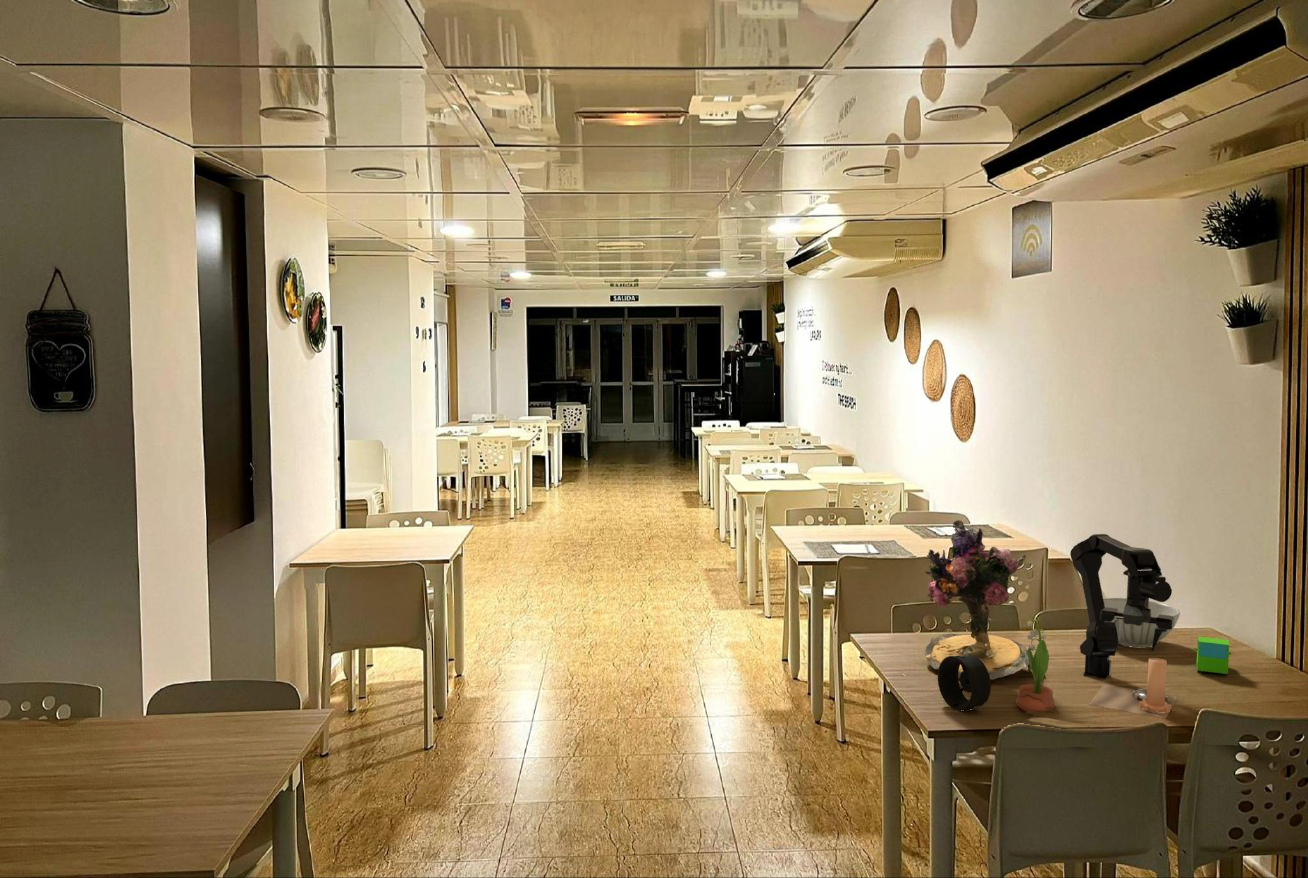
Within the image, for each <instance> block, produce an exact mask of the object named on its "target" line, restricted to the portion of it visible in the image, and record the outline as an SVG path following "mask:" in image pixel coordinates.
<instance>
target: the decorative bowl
mask: <svg viewBox="0 0 1308 878" xmlns="http://www.w3.org/2000/svg"><path fill="white" fill-rule="evenodd" d="M1103 600H1104V605H1105V607H1108V608H1116V609H1118V612H1121V613H1123V612H1124V607H1125V605H1126V603H1127V597H1126V598H1125V597H1107V598H1103ZM1149 609H1151V617H1158V616H1159V614H1161V615H1169V616H1173V617H1174V619H1175V622H1174V627H1173V628H1172V630H1174V628H1175V626H1176V625H1177V623H1178V621H1179V618H1180V616H1181V612H1180V610H1179V609H1177V608H1176V607H1175V606H1172V605H1169V604H1166V603H1164V602H1159V601H1154V600H1149ZM1156 627H1157V625H1156V624H1152V623H1145V622H1143V623H1142V625H1141V626H1136V625H1133V624H1125V623H1124V622H1123V619H1119V639H1120V640H1119V644H1121V645H1124V646H1123V647H1126V646H1132V647H1150V646H1152V644H1153V639H1154V634H1155V628H1156ZM1172 630H1167V632H1162V634H1161V636H1160V638H1159V640H1158V642H1160V641H1161V640H1163V639H1164V638H1166V637H1168V635H1169V634H1170V633H1171V632H1172ZM1121 645H1120V646H1121ZM1132 647H1131V648H1132ZM1150 648H1151V647H1150Z"/></svg>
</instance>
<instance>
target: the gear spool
mask: <svg viewBox="0 0 1308 878" xmlns="http://www.w3.org/2000/svg"><path fill="white" fill-rule="evenodd" d="M1167 664H1168V661H1167V660H1166V659H1163V658H1160V657H1159V658H1158V657H1150V658H1148V664H1147V667H1148V668H1147V669H1148V670H1147V684H1146V685H1147V686H1146V690H1147V699H1146V700H1145V699H1143V700H1142V702H1140V704H1139V706H1140V707H1143V708H1144V710H1149V711H1154V712H1156V713H1159V712H1166V713H1167V712H1169V710H1170V711H1171V710H1172V708H1171V705H1169V704H1167V703H1166V702H1165V695H1166V687H1167V686H1166V685H1167V667H1168V665H1167ZM1169 713H1170V712H1169Z"/></svg>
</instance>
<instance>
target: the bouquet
mask: <svg viewBox="0 0 1308 878" xmlns="http://www.w3.org/2000/svg"><path fill="white" fill-rule="evenodd" d="M952 527H953V529H954V530H953V531H954V532H955V533H952V537H951V538H950V541H951V543H952V547H951V553H952V558H946V550H944V549H943V550H942V555H940V552H939V551H937V552H936V553H935V551H934V550H933V549H929V550H928V551H929V552H928V554H927V555H926V558H927V559H928V561H929V562H931V563H932V564H934V566H931V565H929V567H928V568H929V570H928V571H926V570H925V571H924V573H925V574H927V575H928V576H930V577H931V578H932V579H933V580H934V581H931V582H928V583H927V584H928V585H927V586H928V592H927V597H928V598H931V599H932V600H933V601H934V602H935V603H936V604H937V606H938V607H941V608H944V607H947V606H948V605H951V604H952V603H953V601H952V600H951V599H952V598H955V597H956V599H957V600H958V601H960V602H961V603H963V604H964V605H965V606H966V608H967V609H968V613H969V615H970V616H969V617H970V624H969V625H970V630H971V631H970V632H971V633H970V634H965V635H963V634H958V633H946V634H945V633H944V634H939V635H937V636H935V637H932V638H931V639H930V640H929V641H930V642H929V643H928V644H927V645H926V646H925V650H924V651H925V652H924V655H925V659H926V661H927V664H928V665H929V666H931V667H932V668H933V669H934V670H938V669H939V666H940V664H941V662H942V661H943V659H945V658H946V657H948V656H965V655H973V656H976V657H977V658H979V659H980V660H981V661H982V662H983V663H984V665H985V666H986V668H987V670H988V673H989V676H990V681H991V680H996V679H998V678H1004V677H1005V676H1009V675H1013V674H1015V673H1017V672H1019V671H1021V670H1022V669H1023V668H1026V667H1027V671H1028V672H1030V671H1031V668H1030V665H1029V660H1028V649H1027V648H1026V646H1025V645H1024V644H1021V643H1020V642H1017V641H1015V640H1013V639H1010V638H1005V637H1002V636H999V635H998V636H997V635H991V634H989V633H988V630H989V629H988V628H989V619H990V617H989V616H990V609H989V606H991V607H999V606H1002V605H1004V604H1006V603H1007V602H1008V600H1009V598H1010V595H1009V592H1008V587H1009V577H1010V576H1012V575H1013V574H1015V573H1016V572H1017V571H1018V569H1019V567H1022V565H1024V563H1025V561H1026V558H1027V557H1026V555H1025V554H1022V556H1021V557H1020V558H1019V559H1018V558H1013V559H1012V558H1011V557H1012V556H1011V555H1012V554H1013V551H1011V549H1009V548H1007V549H1006V548H1005V547H1003V548H999V549H998V548H997V547H996V546H991V548H990V549H989V551H988V552H986V551H984V550H985V549H986V545H984V543H983V535H984V533H983V532H984V531H983V530H982V528H978V531H977V532H975V531H974V528H973V527H971V528H968V529H966V526H965V524H964V521H962V520H959V519H956V520H954V521H953V523H952ZM940 556H941V557H940ZM962 671H963V669H962V666H961V664H960V667H959V672H958V677H959V679H960V675H961V673H962Z"/></svg>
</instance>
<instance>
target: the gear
mask: <svg viewBox="0 0 1308 878" xmlns="http://www.w3.org/2000/svg"><path fill="white" fill-rule="evenodd" d="M1136 690H1137V691H1133V692H1132V696H1135V699H1136V700H1141V701H1142V700H1143V699H1145V700H1146V699H1147V689H1144V688H1143V689H1142V688H1137V689H1136ZM1167 701H1168V696H1165V702H1167Z"/></svg>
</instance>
